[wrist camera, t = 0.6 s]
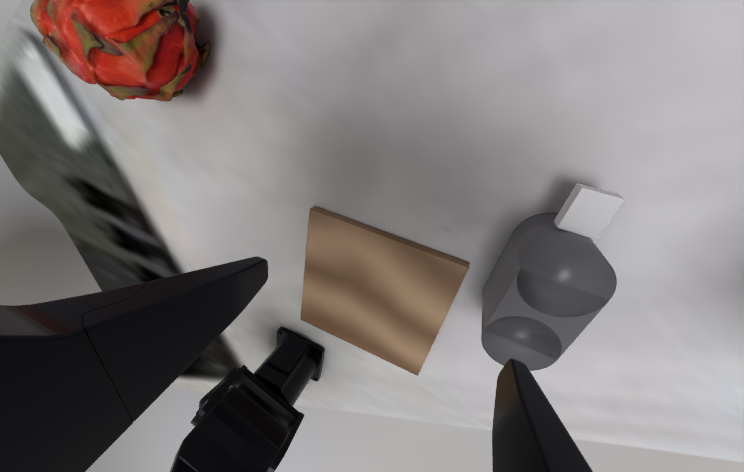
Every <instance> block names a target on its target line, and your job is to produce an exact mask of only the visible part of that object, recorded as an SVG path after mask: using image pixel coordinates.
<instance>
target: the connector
mask: <svg viewBox="0 0 744 472" xmlns="http://www.w3.org/2000/svg"><path fill="white" fill-rule="evenodd" d="M624 202H625V199H624V198H623V197H621V196H620V195H618V194H616V193H612V192H608V191H605V190H601V189H597V188H594V187H590V186H587V185H583V184H579V183H577V184H576V185H575V187H574V189H573V190H572V192H571V193H570V195H569V197H568V198H567V200H566V202H565V203H564V205H563V207H562V208H561V210H560V212H559V213H543V214H538V215H535V216H532V217H530V218H528V219H526V220H524V221H523V222H522V223H521V224H519V225H518V226H517V228H516V229H515V230H514V232H513V234H512V236H511V238H510V239H509V241H508V243H507V245H506V247H505V249H504V251H503V253H502V254H501V256H500V258H499V260H498V262H497V264H496V266H495V267H494V269H493V271H492V273H491V275H490V277H489V279H488V281H487V282H486V284H485V286H484V289H483V303H482V338H481V340H482V345H483V347H484V349H485V351H486V353H487V354H488V355H489V356H490V357H491V358H492V359H494V360H495V361H496V362H498V363H500V364H502V365H504V366H505V364H506V362H507V361H508V360H509V359H510V358H513V359H515V360H518V361H520V362H523V363H524V364H525V365H526V366H527V367H528V369H529V371H533V370H539V369H543V368H546V367H548V366H550V365H552V364H553V363H554V362H556V361H557V360H558V358H559V357H560V356H561V355H562V354H563V353H564V352H565V350H566V349H567V348H568V347H569V346H570V345H571V344H572V342H573V341H574V340H575V339H576V338H577V337H578V336H579V334H580V333H581V332H582V331H583V330H584V329H585V328H586V326H587V325H588V324H589V323H590V322H591V321H592V320H593V318H594V317H595V316H596V315H597V314H598V313H599V311H600V310H601V309H602V308H603V307H604V306H605V305H606V303H607V302H608V301H609V300H610V299H611V297H612V296H613V294H614V292H615V289H616V284H617V280H616V275H615V272H614V270H613V268H612V267H611V265H610V264H609V263H608V261H607V260H606V259H605V257H604V256H603V255H602V253H601V252H600V251H599V249H598V248H597V247H596V245H595V244H594V243H593V241H592V240H591V239H590V238H592V239H595V240H597V239H598V237H599V236H600V234H601V233H602V232H603V230H604V229H605V228H606V226H607V225H608V223H609V222H610V221H611V219H612V218H613V217H614V215H615V214H616V213H617V211H618V210H619V208H620V207H621V206H622V204H623V203H624Z"/></svg>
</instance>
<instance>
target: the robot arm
mask: <svg viewBox="0 0 744 472" xmlns="http://www.w3.org/2000/svg"><path fill="white" fill-rule="evenodd" d="M267 279H268V263H267V260H265V259H263V258H261V257H252V258H247V259H243V260H239V261H235V262H230V263H226V264H222V265H218V266H213V267H209V268H205V269H200V270H196V271H192V272H188V273H183V274H179V275H175V276H171V277H166V278H162V279H158V280H153V281H150V282H149V283H148V282H145V283H140V284H136V285H132V286H127V287H123V288H118V289H114V290H108V291H103V292H98V293H93V294H88V295H82V296H77V297H71V298H66V299H60V300H55V301H50V302H45V303H38V304H32V305H21V306H3V305H0V472H85V471H86V470H87V469H88V468H89V467H90V466H91V465H92V464H93V463H94V462H95V461H96V460H97V459H98V458H99V457H100V456H101V455H102V454H103V453H104V452H105V451H106V450H107V449H108V448H109V447H110V446H111V445H112V444H113V443H114V442H115V441H116V440H117V439H118V438H119V437H120V436H121V434H123V433H124V432H125V431H126V430H127V428H128V427H129V426H130V425H131V424H132V423H133V421H135V420H136V419H137V418H138V417H139V416H140V415H141V414H142V413H143V412H144V411H145V410H146V409H147V408H148V407H149V406H150V405H151V404H152V403H153V402H154V401H155V400H156V399H157V398H158V397H159V396H160V395H161V394H162V392H164V391H165V389H167V388H168V387H169V386H170V385H171V384H172V383H173V382H174V381H175V379H176V378H177V377H178V376H179V375H180V374H181V373H182V372H183V371H184V370H185V369H186V368H187V367H188V366H189V365H190V364H191V363H192V362H193V361H194V360H195V359H196V358H197V357H198V356H199V355H200V354H201V353H202V352H203V351H204V350H205V349H206V348H207V347H208V346H209V345H210V344H211V343H212V342H213V341H214V340H215V339H216V338H217V337H218V336H219V335H220V334H221V333H222V332H223V331H224V330H225V329H226V328H227V327H228V326H229V325H230V324H231V323H232V322H233V321H234V320H235V319H236V318H237V316H238V315H239V314H240V313H241V312H242V311H243V310H244V309H245V307H246V306H247V305H248V304H249V303H250V301H251V300H252V299H253V298H254V296H255V295H256V294H257V293H258V291H259V290H260V289H261V288H262V286H263V285H264V284H265V283H266V281H267ZM323 356H324V349H323V348H322V347H320V346H318V345H316V344H314V343H312V342H310V341H308V340H306V339H304V338H302V337H300V336H298V335H296V334H294V333H292V332H290V331H288V330H286V329H284V328H282V327H280V328H279V329H278V330H277V347H276V348H275V349H274V351H273V352H272V353H271V354H270V355H269V356H268V357H267V359H266V360H265V361H264V362H263V363H262V364H261V366H260V367H259V368H258V369H257V370H256V371H255V372H254V374H253V373H252V372H251V371H249V370H248V369H247V367H246V366H245V365H243V366H242V367H241V368H234V369H233V370H232V371H231V372H230V373H229V374H228V375H227V376H226V377H225V378H224V379H223V380H222V381H221V382H220V383H219V384H218V385H216V386H215V387H214V388H213V389H212V390H211V391H210V392H209V393H207V394H206V395H205V396H204V397H203V398H202V399H201V401H200V403H199V410H198V411H197V412H196V416H195V417H194V418H193V420H192V421H191V424H193V425H194V426H195V427H194V429H193V430H192V431H191V432H190V433H189V434H188V435H187V437H186V438H185V439H184V440H183V442H182V444H181V446H180V448H179V450H178V452H177V454H176V456H175V459H174V462H173V465H172V468H171V470H170V472H274V471H275V470H276V468H277V467H278V465H279V463H280V462H281V460H282V459H283V457H284V455H285V453H286V451H287V449H288V447H289V445H290V443H291V441H292V439H293V437H294V435H295V433H296V431H297V429H298V427H299V425H300V423H301V421H302V419H303V417H304V414H302V413H301V412H298V411H297V410H296V409H295V408H294V407H292V406H293V405H294V403H295V402H296V400H297V399H298V397H299V396H300V394H301V392H302V391H303V389H304V388H305V386H306V385H307V383H308V382H309V380H310V379H312V380H314V381H318V380H319V379H320V374H321V368H322V362H323ZM492 450H493V451H492V452H493V472H592V470H591V468H590V467H589V465H588V463H587V462H586V460H585V459H584V457H583V455H582V454H581V452H580V451H579V449H578V448H577V446H576V444H575V443H574V441H573V439H572V438H571V436H570V435H569V433H568V431H567V430H566V428H565V427H564V425H563V423H562V422H561V420H560V419H559V417H558V415H557V414H556V412H555V411H554V409H553V407H552V406H551V404H550V403H549V401H548V399H547V398H546V396H545V395H544V393H543V391H542V390H541V388H540V387H539V385H538V383H537V382H536V380H535V379H534V377H533V375H532V374H531V372H530V371H529V369H528V367H527V366H526V365H525V364H524V363H523V362H520V361H518V360H515V359H513V358H510V359H509V360H508V361H507V362H506V364H505V366H504V367H503V369H502V370H501V372H500V373H499V376H498V379H497V388H496V398H495V408H494V418H493V430H492Z"/></svg>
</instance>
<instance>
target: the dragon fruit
mask: <svg viewBox="0 0 744 472" xmlns="http://www.w3.org/2000/svg"><path fill="white" fill-rule="evenodd" d="M30 12H31V15H30V16H31V19H32V21H33V23H34V24H35V26H36V27H37V29H38V31H39V32H40V33H41V35H42V36H44V38H43V42H44V44H45V45H46V46H47V47H48V48H49V49H50V50H51V51H52V52H54V53H55V54H56V55H57V56H58V58H59V59H60V60H61V61H62V62H63V63H64V64H65V65H66V66H67V68H69V69H70V71H71V72H72V73H74V74H75V75H76V76H78V77H79V78H80V79H82V80H83V81H85V82H87V83H89V84H96V83H97V84H98V85H100V86H101V87H102V88H104V89H105V90H106V91H108V92H109V93H110V95H111V96H113V97H116V98H118V99H119V100H125V99H135V98H142V99H155V100H160V101H170V100H172V98H173V97H177V96H179V95H180V94H182V93H183V90H182V87H183V86H184V85H186V83H187V82H188V81H189V79H190V77H192V76H194V75H195V74H196V72H197V70H198V69H199V68H202V67H203V66H204V62H205V60H206V58H207V55H208V51H209V41H208V42H207V43H206V44H204V45H199V44H198V43H195V41H194V34H195V32H196V29H197V24H198V22H199V21H200V15H199V13H198V12H197V11H196V10H195V9H194V7H193V6H192V5H191V4H190V3H189V0H35V1H34V2H33V4H32V5H31V8H30Z"/></svg>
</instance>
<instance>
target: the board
mask: <svg viewBox="0 0 744 472" xmlns="http://www.w3.org/2000/svg"><path fill="white" fill-rule="evenodd" d="M468 269H469V262H466V261H463V260H460V259H458V258H455V257H452V256H449V255H447V254H444V253H441V252H439V251H436V250H433V249H430V248H428V247H425V246H422V245H419V244H417V243H414V242H411V241H408V240H406V239H403V238H400V237H397V236H395V235H392V234H389V233H387V232H384V231H381V230H378V229H376V228H373V227H370V226H367V225H365V224H362V223H359V222H356V221H354V220H351V219H348V218H345V217H343V216H340V215H337V214H335V213H332V212H329V211H326V210H324V209H321V208H318V207H315V206H314V207H313V208H311V209H310V214H309V225H308V237H307V249H306V260H305V272H304V284H303V295H302V307H301V320H303V321H305V322H307V323H309V324H311V325H313V326H315V327H317V328H319V329H322V330H324V331H326V332H328V333H330V334H332V335H334V336H336V337H338V338H340V339H342V340H344V341H346V342H349V343H351V344H353V345H355V346H357V347H359V348H361V349H363V350H365V351H367V352H369V353H371V354H374V355H376V356H378V357H380V358H382V359H384V360H386V361H388V362H390V363H392V364H394V365H396V366H398V367H401V368H403V369H405V370H407V371H409V372H411V373H413V374H415V375H417V376H418V374H419V372H420V370H421V368H422V366H423V363H424V361H425V359H426V357H427V355H428V353H429V351H430V349H431V347H432V344H433V342H434V340H435V338H436V336H437V334H438V332H439V330H440V328H441V326H442V323H443V321H444V319H445V317H446V315H447V313H448V311H449V309H450V307H451V304H452V302H453V300H454V298H455V296H456V294H457V292H458V290H459V288H460V285H461V283H462V281H463V279H464V277H465V275H466V273H467V271H468Z"/></svg>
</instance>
